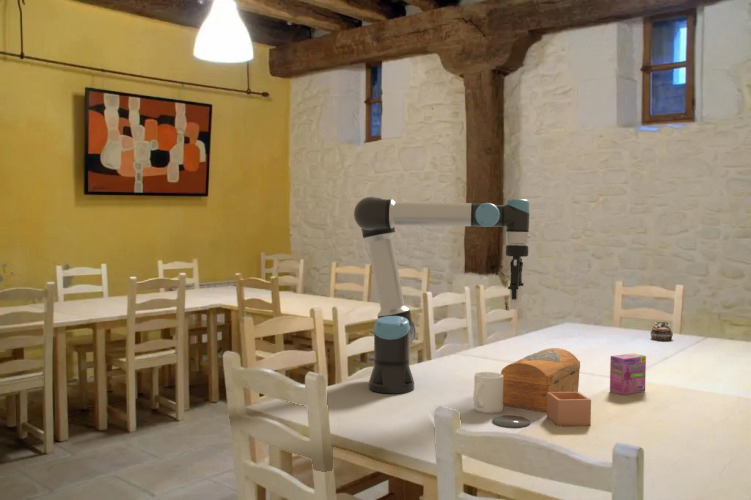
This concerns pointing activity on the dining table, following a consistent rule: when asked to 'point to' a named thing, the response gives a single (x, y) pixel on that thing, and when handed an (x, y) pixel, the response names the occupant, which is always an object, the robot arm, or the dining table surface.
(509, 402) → the wooden box
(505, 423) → the slate coaster
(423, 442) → the dining table surface
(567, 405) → the planter
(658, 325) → the cupcake
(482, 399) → the mug
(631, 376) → the box
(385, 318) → the robot arm
